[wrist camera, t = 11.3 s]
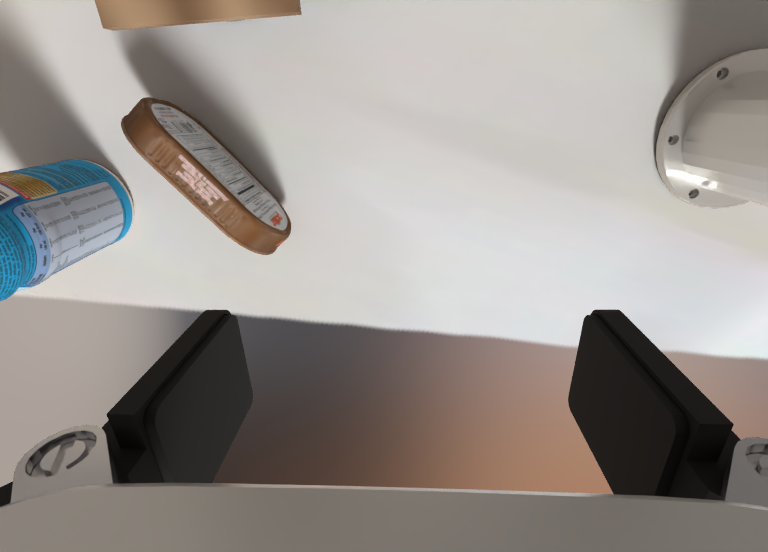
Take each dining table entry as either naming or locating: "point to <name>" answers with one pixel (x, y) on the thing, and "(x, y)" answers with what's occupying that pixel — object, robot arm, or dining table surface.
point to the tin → (207, 174)
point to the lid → (188, 11)
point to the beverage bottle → (57, 219)
